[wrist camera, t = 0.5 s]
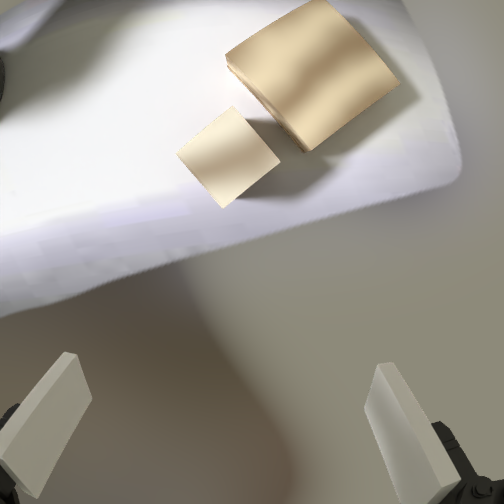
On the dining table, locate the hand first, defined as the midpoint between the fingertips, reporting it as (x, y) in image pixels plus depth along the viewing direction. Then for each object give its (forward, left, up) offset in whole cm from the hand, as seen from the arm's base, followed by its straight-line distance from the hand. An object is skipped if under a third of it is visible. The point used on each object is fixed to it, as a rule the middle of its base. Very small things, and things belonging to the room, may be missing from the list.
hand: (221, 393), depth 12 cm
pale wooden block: (-8, +6, -22) cm, 24 cm away
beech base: (-10, +18, -23) cm, 30 cm away
